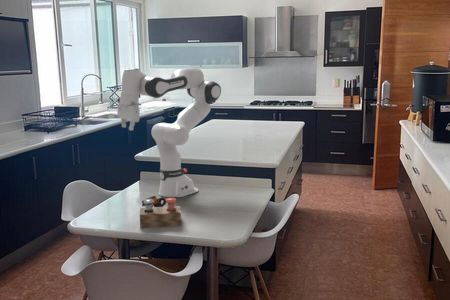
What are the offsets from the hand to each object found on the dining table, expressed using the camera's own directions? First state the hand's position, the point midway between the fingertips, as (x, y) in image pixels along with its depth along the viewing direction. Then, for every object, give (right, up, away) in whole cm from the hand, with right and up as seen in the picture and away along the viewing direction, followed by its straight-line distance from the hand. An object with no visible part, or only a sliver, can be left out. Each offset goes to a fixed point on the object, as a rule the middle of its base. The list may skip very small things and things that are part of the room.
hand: (127, 128), depth 232 cm
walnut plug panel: (+19, -44, -20) cm, 52 cm away
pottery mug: (+14, -41, -2) cm, 43 cm away
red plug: (+24, -39, -20) cm, 51 cm away
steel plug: (+14, -40, -22) cm, 48 cm away
